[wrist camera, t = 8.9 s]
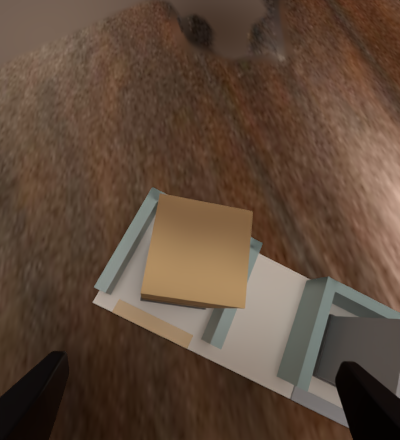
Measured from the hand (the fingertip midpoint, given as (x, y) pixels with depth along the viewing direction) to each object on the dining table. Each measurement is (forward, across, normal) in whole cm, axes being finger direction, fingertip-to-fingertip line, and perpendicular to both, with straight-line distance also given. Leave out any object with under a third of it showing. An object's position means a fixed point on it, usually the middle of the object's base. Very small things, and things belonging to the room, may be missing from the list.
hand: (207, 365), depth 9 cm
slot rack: (+12, -6, +8) cm, 15 cm away
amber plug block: (+12, +1, +5) cm, 13 cm away
